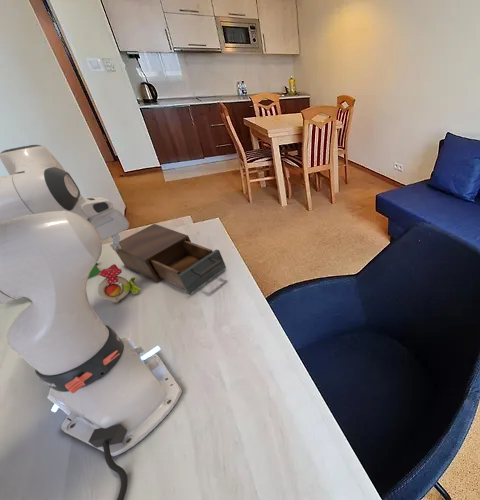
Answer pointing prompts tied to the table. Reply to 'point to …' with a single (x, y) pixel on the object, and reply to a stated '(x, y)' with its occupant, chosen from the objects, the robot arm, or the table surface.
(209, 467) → the table surface
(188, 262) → the drawer
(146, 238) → the cabinet
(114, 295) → the bird rattle
